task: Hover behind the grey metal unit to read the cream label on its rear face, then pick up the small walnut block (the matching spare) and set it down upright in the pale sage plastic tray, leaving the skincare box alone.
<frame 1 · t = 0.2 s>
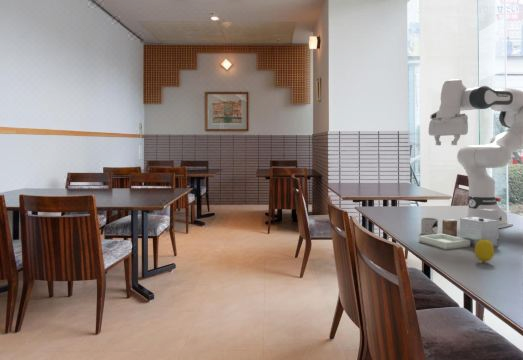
hand: (445, 145, 193), 39 cm above the table, tool pointing down, fingers open, 8 cm apart
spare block: (449, 236, 179), on the table
skincare box: (488, 238, 175), on the table
lemon: (483, 263, 137), on the table
unit: (477, 244, 163), on the table
mug: (430, 233, 187), on the table
tray: (443, 244, 165), on the table
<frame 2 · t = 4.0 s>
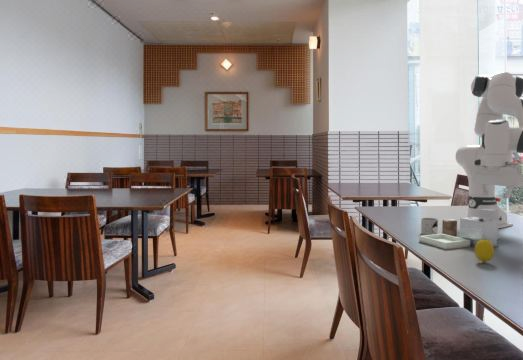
hand: (495, 196, 166), 18 cm above the table, tool pointing down, fingers open, 8 cm apart
nothing on the table moved.
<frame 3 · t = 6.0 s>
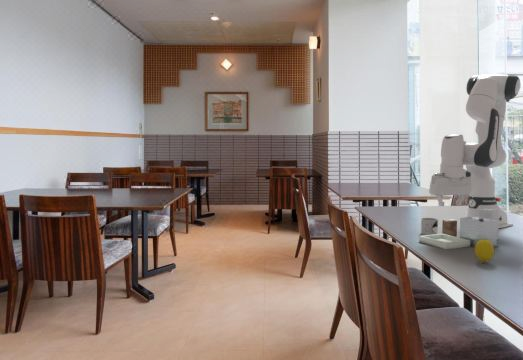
hand: (449, 205, 178), 13 cm above the table, tool pointing down, fingers open, 8 cm apart
nothing on the table moved.
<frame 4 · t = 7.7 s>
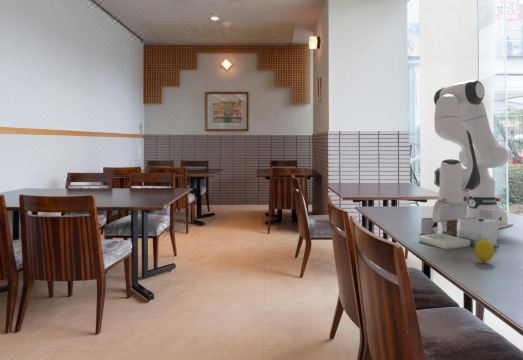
hand: (449, 230, 179), 3 cm above the table, tool pointing down, fingers closed on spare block, 4 cm apart
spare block: (449, 236, 179), on the table, touching gripper
everything else where it was.
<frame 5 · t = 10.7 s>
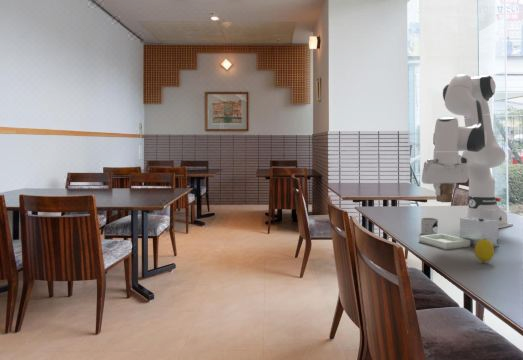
hand: (444, 194, 164), 19 cm above the table, tool pointing down, fingers closed on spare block, 4 cm apart
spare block: (444, 201, 164), point 17 cm above the table, touching gripper
everything else where it was.
when the fingers open (5 cm above the table, at t = 13.8 s): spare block drops 1 cm, resting on tray.
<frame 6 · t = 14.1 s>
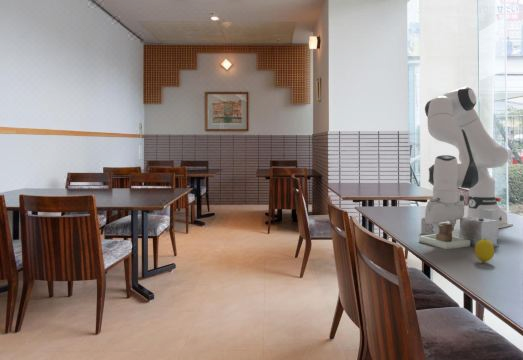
hand: (444, 232, 165), 5 cm above the table, tool pointing down, fingers open, 7 cm apart
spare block: (443, 242, 165), point 1 cm above the table, touching tray
everything else where it was.
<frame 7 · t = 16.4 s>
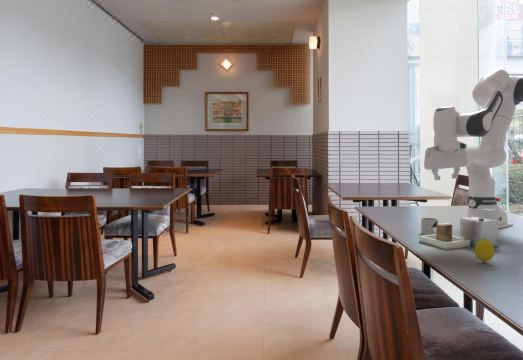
hand: (446, 179, 175), 25 cm above the table, tool pointing down, fingers open, 8 cm apart
nothing on the table moved.
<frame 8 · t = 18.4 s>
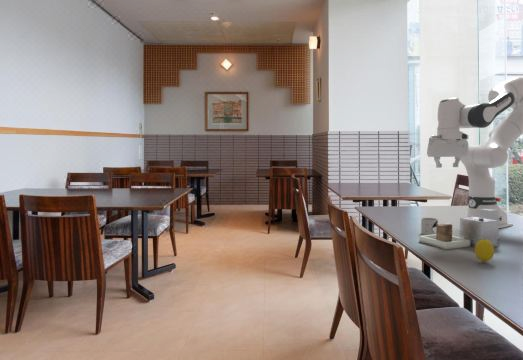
hand: (447, 167, 184), 29 cm above the table, tool pointing down, fingers open, 8 cm apart
nothing on the table moved.
at the end: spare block inside the target area on the tray (0.1 cm from its centre), point 0.8 cm above the tray's base; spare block tilted 0°; the gripper is holding nothing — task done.
